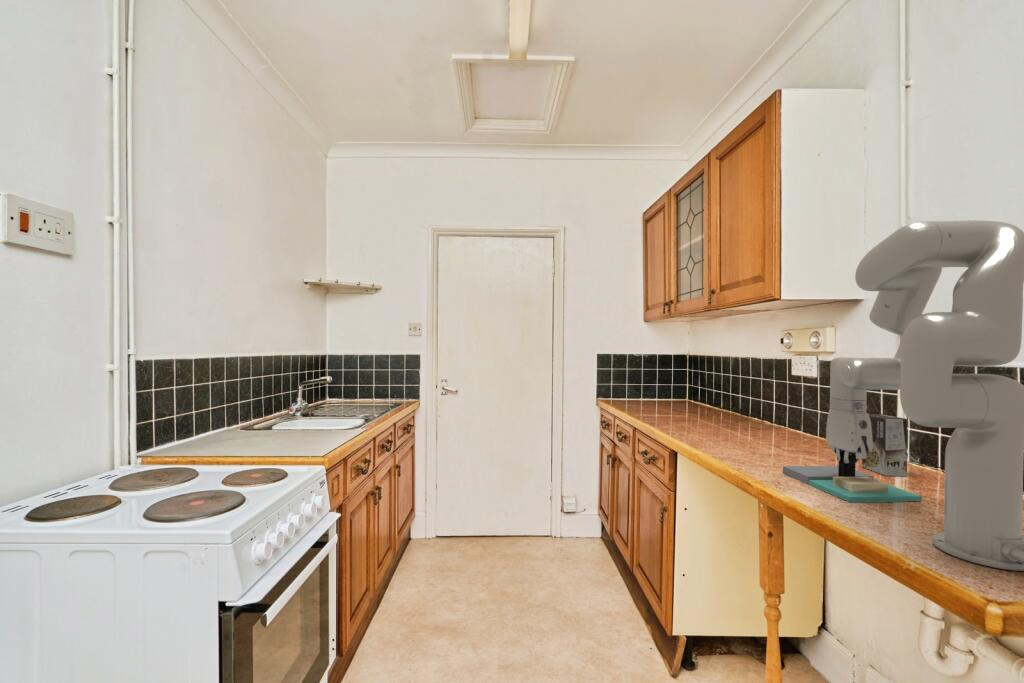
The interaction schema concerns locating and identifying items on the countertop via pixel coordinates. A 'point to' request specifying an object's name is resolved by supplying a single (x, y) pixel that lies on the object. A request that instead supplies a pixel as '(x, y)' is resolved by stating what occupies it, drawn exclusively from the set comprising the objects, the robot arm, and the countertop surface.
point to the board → (816, 473)
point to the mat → (890, 496)
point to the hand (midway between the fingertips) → (846, 477)
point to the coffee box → (888, 446)
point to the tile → (860, 484)
